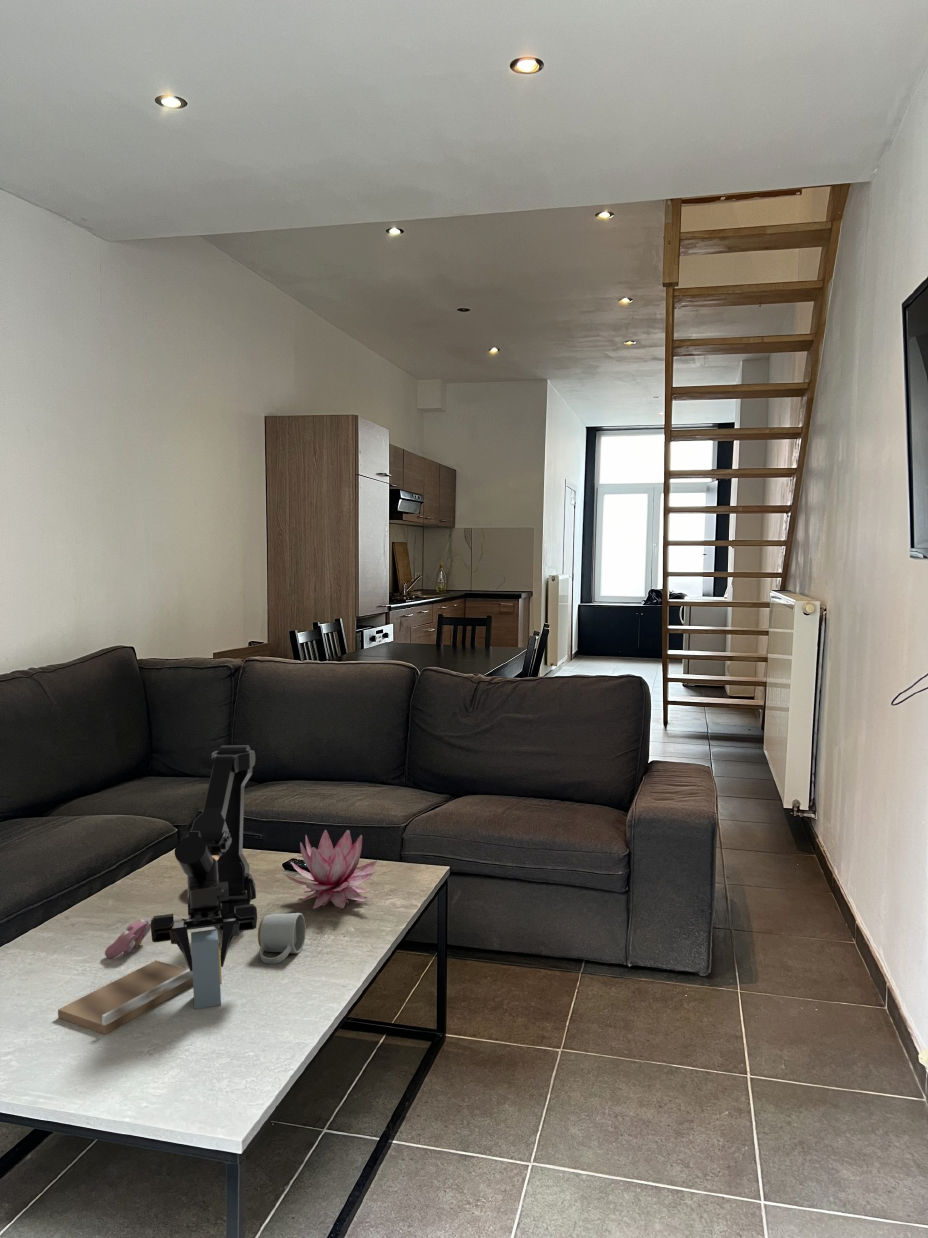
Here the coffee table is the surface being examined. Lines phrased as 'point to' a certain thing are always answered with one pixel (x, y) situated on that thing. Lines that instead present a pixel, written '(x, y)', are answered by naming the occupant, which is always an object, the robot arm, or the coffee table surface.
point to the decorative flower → (334, 870)
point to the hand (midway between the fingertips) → (206, 968)
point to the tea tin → (206, 968)
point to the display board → (127, 997)
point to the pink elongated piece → (129, 939)
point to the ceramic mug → (281, 935)
